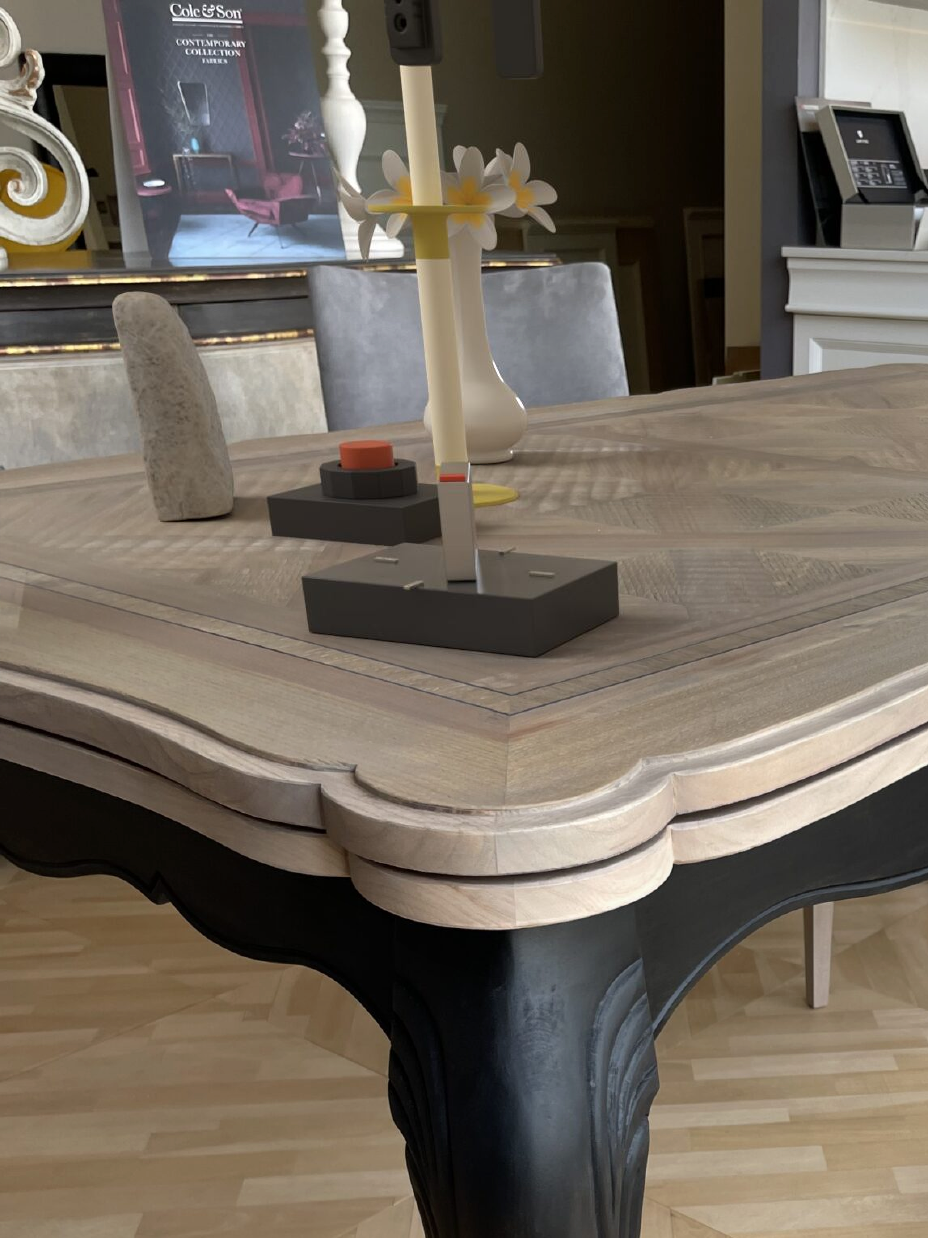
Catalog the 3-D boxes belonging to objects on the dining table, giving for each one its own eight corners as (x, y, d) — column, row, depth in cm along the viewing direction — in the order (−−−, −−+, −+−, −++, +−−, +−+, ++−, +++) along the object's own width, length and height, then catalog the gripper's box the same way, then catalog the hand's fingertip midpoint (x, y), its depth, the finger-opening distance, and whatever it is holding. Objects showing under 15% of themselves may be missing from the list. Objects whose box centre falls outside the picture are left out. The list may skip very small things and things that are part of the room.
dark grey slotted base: (301, 634, 82) (293, 575, 81) (414, 591, 92) (408, 537, 90) (530, 660, 78) (525, 598, 77) (624, 612, 87) (622, 556, 86)
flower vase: (359, 455, 140) (321, 141, 128) (554, 446, 146) (535, 145, 134) (380, 476, 130) (341, 136, 118) (590, 465, 136) (573, 141, 124)
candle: (395, 488, 124) (334, -74, 106) (519, 487, 125) (479, -70, 107) (384, 510, 115) (315, -99, 97) (517, 508, 117) (474, -94, 99)
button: (331, 472, 105) (328, 445, 104) (361, 465, 108) (358, 439, 107) (376, 475, 104) (372, 448, 103) (405, 468, 107) (402, 442, 106)
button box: (272, 536, 106) (261, 468, 104) (347, 515, 114) (339, 451, 111) (407, 548, 103) (399, 478, 101) (475, 525, 110) (470, 460, 108)
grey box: (449, 555, 86) (440, 457, 84) (477, 554, 87) (469, 457, 84) (446, 581, 80) (436, 477, 78) (477, 580, 80) (468, 477, 78)
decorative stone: (170, 498, 119) (133, 286, 112) (249, 497, 120) (217, 286, 113) (143, 524, 110) (101, 294, 103) (229, 522, 111) (193, 294, 104)
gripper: (452, -345, 67) (483, 85, 75) (240, -461, 56) (302, 62, 64) (602, -364, 65) (618, 82, 73) (414, -489, 53) (456, 58, 61)
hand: (471, 72), depth 68 cm, fingers open, 8 cm apart
